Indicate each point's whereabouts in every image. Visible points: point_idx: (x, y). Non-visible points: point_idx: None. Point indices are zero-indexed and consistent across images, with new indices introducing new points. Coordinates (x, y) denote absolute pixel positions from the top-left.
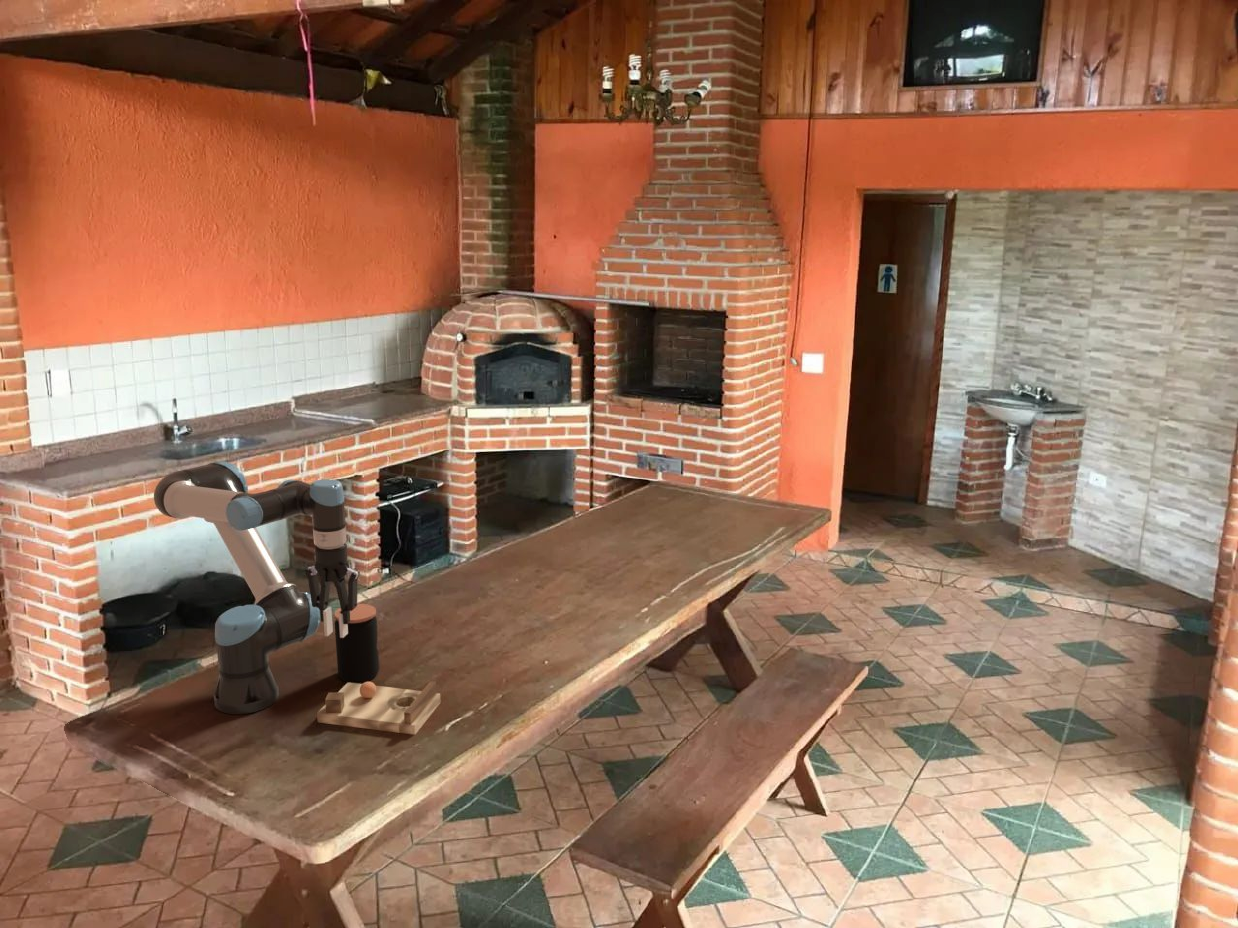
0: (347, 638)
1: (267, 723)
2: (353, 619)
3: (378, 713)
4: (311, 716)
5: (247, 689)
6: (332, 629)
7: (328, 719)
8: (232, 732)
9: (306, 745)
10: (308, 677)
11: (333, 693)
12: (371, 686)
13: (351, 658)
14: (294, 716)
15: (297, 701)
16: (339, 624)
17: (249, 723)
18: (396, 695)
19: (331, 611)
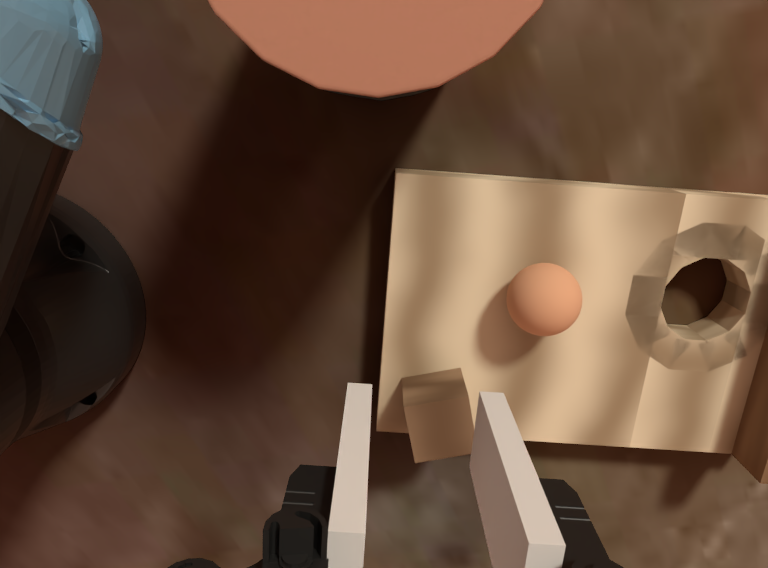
0: (372, 98)
1: (205, 441)
2: (430, 74)
3: (614, 401)
4: (335, 376)
5: (42, 427)
6: (371, 398)
7: None
8: (125, 505)
9: (403, 537)
10: (157, 66)
11: (428, 411)
12: (573, 320)
13: (391, 98)
14: (274, 385)
15: (226, 281)
16: (489, 544)
17: (144, 449)
18: (652, 255)
19: (366, 497)
